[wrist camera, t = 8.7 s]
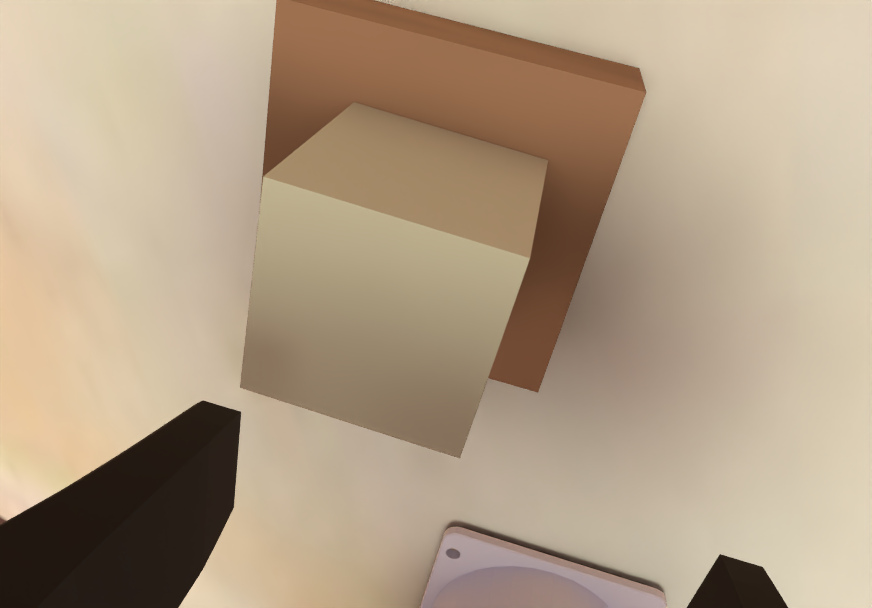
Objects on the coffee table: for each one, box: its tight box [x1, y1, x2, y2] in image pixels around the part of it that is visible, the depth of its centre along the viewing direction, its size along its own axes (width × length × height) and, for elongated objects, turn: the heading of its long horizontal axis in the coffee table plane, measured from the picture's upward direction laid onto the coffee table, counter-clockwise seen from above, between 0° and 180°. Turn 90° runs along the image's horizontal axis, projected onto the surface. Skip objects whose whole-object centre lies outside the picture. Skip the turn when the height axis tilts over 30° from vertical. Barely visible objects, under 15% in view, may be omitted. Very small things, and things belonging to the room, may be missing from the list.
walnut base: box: [260, 0, 646, 392], centre depth 18 cm, size 8×8×3 cm
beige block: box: [240, 102, 548, 458], centre depth 15 cm, size 4×4×5 cm
